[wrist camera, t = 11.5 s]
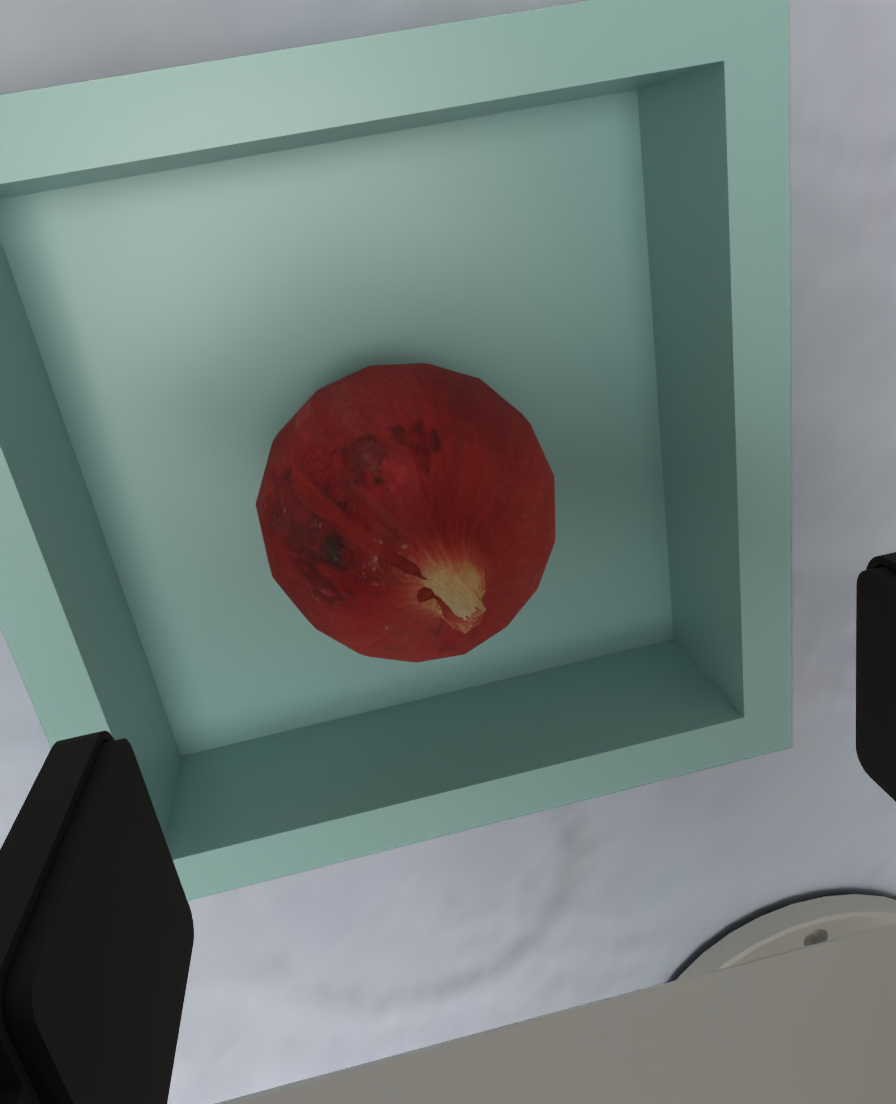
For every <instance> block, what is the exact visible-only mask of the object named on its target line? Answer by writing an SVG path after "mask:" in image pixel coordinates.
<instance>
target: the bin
mask: <svg viewBox="0 0 896 1104" xmlns="http://www.w3.org/2000/svg"><path fill="white" fill-rule="evenodd" d="M411 363H427V364H432V365H435V366H438V367H442V368H445V369H449V370H452V371H456V372H459V373H463V374H466V375H469V376H473V377H476V378H480V379H481V380H482V381H483V382H485V383H486V384H487V385H488V386H489V387H491V388H492V389H493V390H494V391H495V392H497V393H498V394H499V395H500V396H501V397H503V398H504V399H505V400H506V401H507V402H509V403H510V404H511V405H512V406H513V407H515V408H516V409H517V410H518V411H519V412H520V413H522V414H523V415H524V417H525V418H526V419H527V420H528V421H529V423H530V424H531V426H532V428H533V430H534V432H535V435H536V437H537V439H538V441H539V443H540V446H541V448H542V450H543V452H544V454H545V457H546V459H547V461H548V463H549V465H550V467H551V470H552V472H553V474H554V480H555V543H554V546H553V549H552V551H551V554H550V557H549V560H548V562H547V565H546V568H545V570H544V573H543V576H542V579H541V581H540V584H539V587H538V589H537V590H536V592H535V593H534V594H533V595H532V597H531V598H530V599H529V600H528V601H527V603H526V604H525V605H524V606H523V608H522V609H521V610H520V611H519V612H518V614H517V615H516V616H515V617H514V619H513V620H512V621H511V622H510V623H509V625H508V626H507V627H506V628H504V629H503V630H501V631H500V632H498V633H497V634H495V635H494V636H492V637H491V638H489V639H488V640H486V641H484V642H483V643H481V644H480V645H478V646H477V647H475V648H474V649H472V650H471V651H469V652H468V653H466V654H464V655H458V656H452V657H447V658H441V659H435V660H429V661H424V662H418V663H415V662H407V661H399V660H391V659H383V658H375V657H368V656H364V655H361V654H358V653H357V652H355V651H353V650H351V649H350V648H348V647H346V646H344V645H343V644H341V643H339V642H338V641H336V640H334V639H332V638H331V637H329V636H327V635H325V634H324V633H322V632H320V631H318V630H317V629H315V627H314V626H313V625H312V624H311V623H310V622H309V621H308V620H307V619H306V618H305V617H304V615H303V614H302V613H301V612H300V611H299V609H298V608H297V607H296V606H295V604H294V603H293V602H292V601H291V599H290V598H289V597H288V596H287V595H286V593H285V592H284V591H283V590H282V588H281V587H280V586H279V585H278V584H277V582H276V581H275V580H274V579H273V577H272V573H271V570H270V566H269V563H268V558H267V554H266V549H265V545H264V540H263V536H262V531H261V527H260V522H259V518H258V513H257V509H256V500H257V497H258V493H259V489H260V486H261V482H262V478H263V474H264V471H265V467H266V463H267V460H268V456H269V452H270V448H271V445H272V442H273V440H274V438H275V437H276V435H277V433H278V432H279V431H280V430H281V429H282V428H283V427H284V426H285V425H286V424H287V422H288V421H289V420H290V419H291V418H292V417H293V416H294V415H295V414H296V413H297V412H298V410H299V409H300V408H301V407H302V406H303V405H304V404H305V403H306V402H307V401H308V400H309V398H310V397H311V396H312V395H313V394H314V393H315V392H316V391H317V390H318V389H320V388H322V387H324V386H326V385H329V384H331V383H333V382H335V381H337V380H339V379H342V378H344V377H346V376H348V375H350V374H352V373H354V372H357V371H359V370H361V369H363V368H365V367H367V366H371V365H391V364H411ZM0 628H1V631H2V633H3V635H4V638H5V640H6V642H7V645H8V647H9V650H10V652H11V654H12V657H13V659H14V661H15V664H16V666H17V668H18V671H19V673H20V676H21V678H22V680H23V683H24V685H25V687H26V690H27V692H28V695H29V697H30V699H31V702H32V704H33V706H34V709H35V711H36V714H37V716H38V718H39V721H40V723H41V725H42V728H43V730H44V733H45V735H46V737H47V740H48V742H49V744H50V747H51V748H52V746H53V745H54V744H55V743H56V741H60V740H65V739H69V738H73V737H78V736H82V735H87V734H91V733H96V732H100V731H105V730H106V731H108V732H109V733H110V734H111V735H112V737H113V738H114V740H119V739H123V738H125V739H127V740H128V741H129V743H130V744H131V746H132V748H133V751H134V754H135V756H136V759H137V762H138V765H139V768H140V770H141V773H142V776H143V779H144V782H145V784H146V787H147V790H148V793H149V795H150V798H151V801H152V804H153V807H154V809H155V812H156V815H157V818H158V821H159V823H160V826H161V829H162V832H163V834H164V837H165V840H166V843H167V846H168V848H169V851H170V854H171V857H172V860H173V862H174V865H175V868H176V871H177V873H178V876H179V879H180V882H181V885H182V887H183V890H184V893H185V896H186V899H187V901H189V900H193V899H197V898H201V897H205V896H209V895H213V894H217V893H221V892H225V891H229V890H233V889H237V888H240V887H244V886H248V885H252V884H256V883H260V882H264V881H268V880H272V879H276V878H280V877H284V876H288V875H292V874H296V873H299V872H303V871H307V870H311V869H315V868H319V867H323V866H327V865H331V864H335V863H339V862H343V861H347V860H351V859H354V858H358V857H362V856H366V855H370V854H374V853H378V852H382V851H386V850H390V849H394V848H398V847H402V846H406V845H410V844H413V843H417V842H421V841H425V840H429V839H433V838H437V837H441V836H445V835H449V834H453V833H457V832H461V831H465V830H469V829H472V828H476V827H480V826H484V825H488V824H492V823H496V822H500V821H504V820H508V819H512V818H516V817H520V816H524V815H527V814H531V813H535V812H539V811H543V810H547V809H551V808H555V807H559V806H563V805H567V804H571V803H575V802H579V801H583V800H586V799H590V798H594V797H598V796H602V795H606V794H610V793H614V792H618V791H622V790H626V789H630V788H634V787H638V786H641V785H645V784H649V783H653V782H657V781H661V780H665V779H669V778H673V777H677V776H681V775H685V774H689V773H693V772H697V771H700V770H704V769H708V768H712V767H716V766H720V765H724V764H728V763H732V762H736V761H740V760H744V759H748V758H752V757H756V756H759V755H763V754H767V753H771V752H775V751H779V750H783V749H787V748H791V747H792V536H791V287H790V38H789V0H588V1H582V2H576V3H569V4H563V5H557V6H551V7H544V8H538V9H532V10H526V11H520V12H513V13H507V14H501V15H495V16H488V17H482V18H476V19H470V20H463V21H457V22H451V23H445V24H439V25H432V26H426V27H420V28H414V29H407V30H401V31H395V32H389V33H383V34H376V35H370V36H364V37H358V38H351V39H345V40H339V41H333V42H327V43H320V44H314V45H308V46H302V47H295V48H289V49H283V50H277V51H270V52H264V53H258V54H252V55H246V56H239V57H233V58H227V59H221V60H214V61H208V62H202V63H196V64H190V65H183V66H177V67H171V68H165V69H158V70H152V71H146V72H140V73H133V74H127V75H121V76H115V77H109V78H102V79H96V80H90V81H84V82H77V83H71V84H65V85H59V86H53V87H46V88H40V89H34V90H28V91H21V92H15V93H9V94H3V95H0Z"/></svg>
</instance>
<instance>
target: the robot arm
mask: <svg viewBox="0 0 896 1104" xmlns="http://www.w3.org/2000/svg"><path fill="white" fill-rule="evenodd" d="M856 751H857V755H858V758H859V761H860V763H861V765H862V767H863V769H864V770H865V772H866V773H867V774H868V775H869V776H870V777H871V778H872V779H873V780H874V781H875V782H876V783H877V784H878V785H879V786H880V787H881V788H882V789H883V790H884V791H885V792H886V793H887V794H888V795H889V796H890V797H892V798H893V799H894V800H895V801H896V552H895V553H891V554H886V555H882V556H877V557H874V558H873V559H872V560H870V562H869V564H868V566H867V570H865V571H862V572H861V573H860V574H859V576H858V579H857V617H856ZM193 940H194V928H193V919H192V914H191V910H190V907H189V904H188V901H187V899H186V896H185V893H184V890H183V887H182V885H181V882H180V879H179V876H178V873H177V871H176V868H175V865H174V862H173V860H172V857H171V854H170V851H169V848H168V846H167V843H166V840H165V837H164V834H163V832H162V829H161V826H160V823H159V821H158V818H157V815H156V812H155V809H154V807H153V804H152V801H151V798H150V795H149V793H148V790H147V787H146V784H145V782H144V779H143V776H142V773H141V770H140V768H139V765H138V762H137V759H136V756H135V754H134V751H133V748H132V746H131V744H130V743H129V741H128V740H127V739H125V738H123V739H119V740H114V738H113V737H112V735H111V734H110V733H109V732H108V731H106V730H105V731H100V732H96V733H91V734H87V735H82V736H78V737H73V738H69V739H65V740H60V741H56V743H55V744H54V745H53V746H52V748H51V750H50V752H49V754H48V756H47V758H46V760H45V762H44V764H43V766H42V768H41V770H40V772H39V774H38V776H37V778H36V780H35V782H34V784H33V786H32V788H31V790H30V792H29V794H28V796H27V798H26V800H25V802H24V804H23V806H22V808H21V810H20V812H19V814H18V816H17V818H16V820H15V822H14V824H13V826H12V828H11V830H10V832H9V834H8V836H7V838H6V840H5V842H4V844H3V846H2V848H1V850H0V1104H167V1100H168V1094H169V1088H170V1082H171V1076H172V1070H173V1064H174V1057H175V1051H176V1045H177V1039H178V1033H179V1027H180V1021H181V1015H182V1009H183V1002H184V996H185V990H186V984H187V978H188V972H189V966H190V960H191V954H192V947H193ZM216 1104H896V900H894V899H891V898H888V897H883V896H873V895H862V894H849V895H836V896H824V897H819V898H815V899H811V900H807V901H802V902H798V903H794V904H790V905H788V906H785V907H783V908H780V909H777V910H775V911H772V912H770V913H767V914H765V915H762V916H760V917H758V918H756V919H754V920H752V921H750V922H749V923H747V924H745V925H743V926H741V927H740V928H738V929H736V930H734V931H732V932H730V933H729V934H728V935H726V936H725V937H724V938H722V939H721V940H719V941H718V942H717V943H715V944H714V945H713V946H711V947H710V948H709V949H707V950H706V951H705V952H703V953H702V954H701V955H700V956H699V957H698V958H697V959H696V960H695V961H694V962H693V963H692V964H691V965H690V966H689V967H688V968H687V969H686V970H685V971H684V972H683V973H682V974H681V975H680V976H679V977H678V978H677V980H676V981H672V982H668V983H665V984H661V985H657V986H653V987H649V988H646V989H642V990H638V991H634V992H630V993H627V994H623V995H619V996H615V997H612V998H608V999H604V1000H600V1001H596V1002H593V1003H589V1004H585V1005H581V1006H577V1007H574V1008H570V1009H566V1010H562V1011H559V1012H555V1013H551V1014H547V1015H544V1016H540V1017H536V1018H532V1019H529V1020H525V1021H521V1022H517V1023H514V1024H510V1025H506V1026H502V1027H499V1028H495V1029H491V1030H487V1031H484V1032H480V1033H476V1034H472V1035H469V1036H465V1037H461V1038H458V1039H454V1040H450V1041H446V1042H443V1043H439V1044H435V1045H432V1046H428V1047H424V1048H420V1049H417V1050H413V1051H409V1052H406V1053H402V1054H398V1055H394V1056H391V1057H387V1058H383V1059H380V1060H376V1061H372V1062H368V1063H365V1064H361V1065H357V1066H354V1067H350V1068H346V1069H342V1070H339V1071H335V1072H331V1073H328V1074H324V1075H320V1076H316V1077H313V1078H309V1079H305V1080H302V1081H298V1082H294V1083H290V1084H287V1085H283V1086H279V1087H275V1088H272V1089H268V1090H264V1091H261V1092H257V1093H253V1094H249V1095H246V1096H242V1097H238V1098H235V1099H231V1100H227V1101H223V1102H220V1103H216Z"/></svg>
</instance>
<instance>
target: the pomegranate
mask: <svg viewBox="0 0 896 1104" xmlns="http://www.w3.org/2000/svg"><path fill="white" fill-rule="evenodd" d="M256 509H257V513H258V518H259V522H260V527H261V531H262V536H263V540H264V545H265V549H266V554H267V558H268V563H269V566H270V570H271V573H272V577H273V579H274V580H275V581H276V582H277V584H278V585H279V586H280V587H281V588H282V590H283V591H284V592H285V593H286V595H287V596H288V597H289V598H290V599H291V601H292V602H293V603H294V604H295V606H296V607H297V608H298V609H299V611H300V612H301V613H302V614H303V615H304V617H305V618H306V619H307V620H308V621H309V622H310V623H311V624H312V625H313V626H314V627H315V629H317V630H318V631H320V632H322V633H324V634H325V635H327V636H329V637H331V638H332V639H334V640H336V641H338V642H339V643H341V644H343V645H344V646H346V647H348V648H350V649H351V650H353V651H355V652H357V653H358V654H361V655H364V656H368V657H375V658H383V659H391V660H399V661H407V662H415V663H418V662H424V661H429V660H435V659H441V658H447V657H452V656H458V655H464V654H466V653H468V652H469V651H471V650H472V649H474V648H475V647H477V646H478V645H480V644H481V643H483V642H484V641H486V640H488V639H489V638H491V637H492V636H494V635H495V634H497V633H498V632H500V631H501V630H503V629H504V628H506V627H507V626H508V625H509V623H510V622H511V621H512V620H513V619H514V617H515V616H516V615H517V614H518V612H519V611H520V610H521V609H522V608H523V606H524V605H525V604H526V603H527V601H528V600H529V599H530V598H531V597H532V595H533V594H534V593H535V592H536V590H537V589H538V587H539V584H540V581H541V579H542V576H543V573H544V570H545V568H546V565H547V562H548V560H549V557H550V554H551V551H552V549H553V546H554V543H555V480H554V474H553V472H552V470H551V467H550V465H549V463H548V461H547V459H546V457H545V454H544V452H543V450H542V448H541V446H540V443H539V441H538V439H537V437H536V435H535V432H534V430H533V428H532V426H531V424H530V423H529V421H528V420H527V419H526V418H525V417H524V415H523V414H522V413H520V412H519V411H518V410H517V409H516V408H515V407H513V406H512V405H511V404H510V403H509V402H507V401H506V400H505V399H504V398H503V397H501V396H500V395H499V394H498V393H497V392H495V391H494V390H493V389H492V388H491V387H489V386H488V385H487V384H486V383H485V382H483V381H482V380H481V379H480V378H476V377H473V376H469V375H466V374H463V373H459V372H456V371H452V370H449V369H445V368H442V367H438V366H435V365H432V364H427V363H411V364H391V365H371V366H367V367H365V368H363V369H361V370H359V371H357V372H354V373H352V374H350V375H348V376H346V377H344V378H342V379H339V380H337V381H335V382H333V383H331V384H329V385H326V386H324V387H322V388H320V389H318V390H317V391H316V392H315V393H314V394H313V395H312V396H311V397H310V398H309V400H308V401H307V402H306V403H305V404H304V405H303V406H302V407H301V408H300V409H299V410H298V412H297V413H296V414H295V415H294V416H293V417H292V418H291V419H290V420H289V421H288V422H287V424H286V425H285V426H284V427H283V428H282V429H281V430H280V431H279V432H278V433H277V435H276V437H275V438H274V440H273V442H272V445H271V448H270V452H269V456H268V460H267V463H266V467H265V471H264V474H263V478H262V482H261V486H260V489H259V493H258V497H257V500H256Z"/></svg>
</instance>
